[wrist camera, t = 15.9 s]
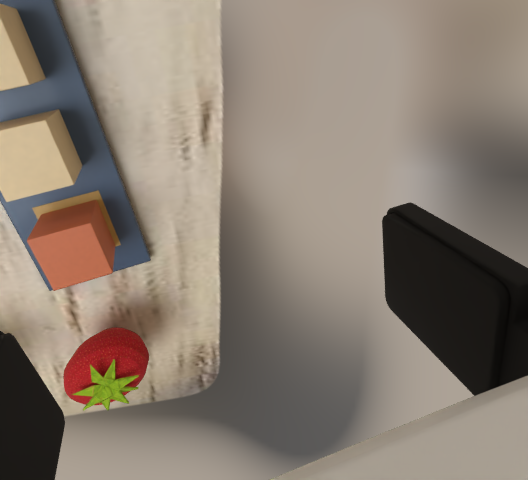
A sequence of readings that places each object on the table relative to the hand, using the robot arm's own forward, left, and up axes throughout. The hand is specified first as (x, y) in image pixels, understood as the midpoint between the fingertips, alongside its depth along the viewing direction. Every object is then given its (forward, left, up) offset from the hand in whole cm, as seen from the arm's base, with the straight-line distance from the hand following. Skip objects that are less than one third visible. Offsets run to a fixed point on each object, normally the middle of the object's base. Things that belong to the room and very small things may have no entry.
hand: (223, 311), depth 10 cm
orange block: (+6, -9, -25) cm, 27 cm away
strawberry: (+18, -11, -26) cm, 34 cm away
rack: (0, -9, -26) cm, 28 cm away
